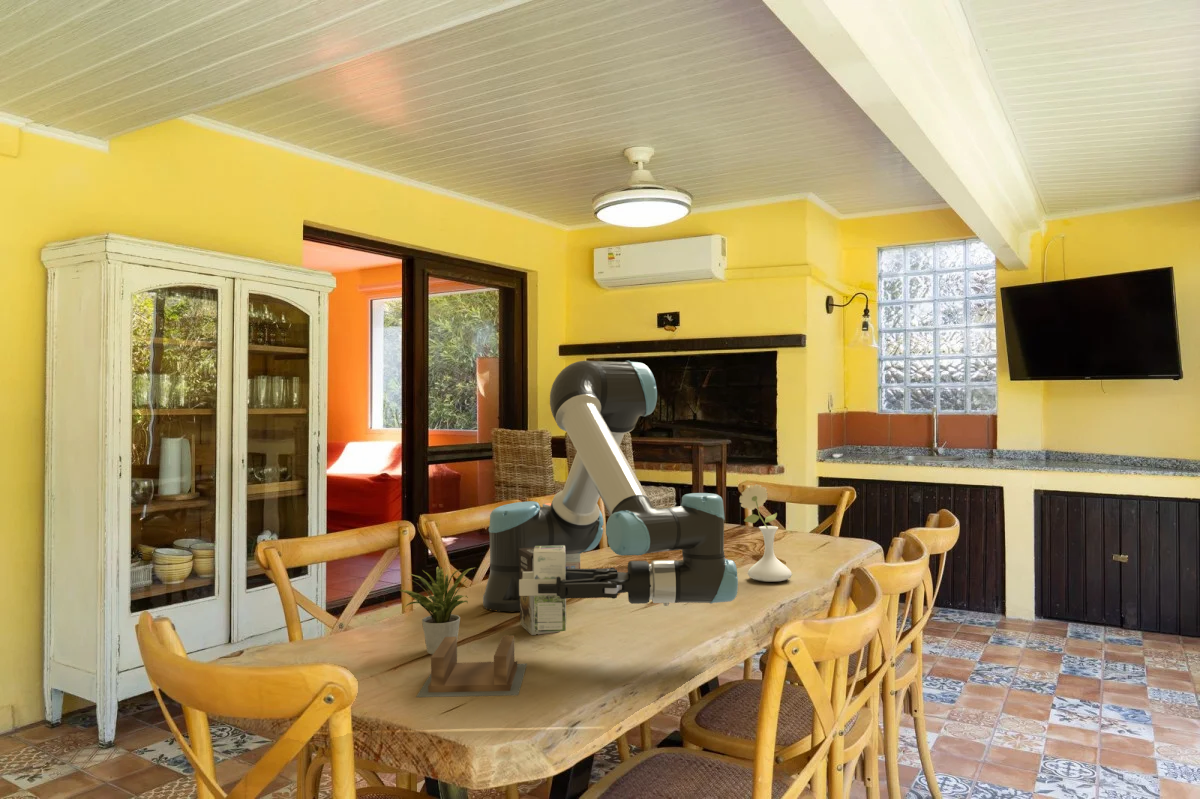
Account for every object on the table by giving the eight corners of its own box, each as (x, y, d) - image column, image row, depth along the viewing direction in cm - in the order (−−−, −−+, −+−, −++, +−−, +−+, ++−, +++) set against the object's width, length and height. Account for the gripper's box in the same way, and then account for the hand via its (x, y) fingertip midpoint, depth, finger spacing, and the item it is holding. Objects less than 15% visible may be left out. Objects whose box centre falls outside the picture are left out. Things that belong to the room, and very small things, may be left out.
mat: (527, 665, 143) (527, 663, 143) (518, 696, 127) (518, 694, 127) (436, 667, 143) (436, 665, 143) (416, 698, 127) (416, 696, 127)
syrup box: (566, 623, 149) (565, 544, 149) (566, 632, 143) (565, 549, 143) (535, 623, 149) (534, 544, 149) (533, 633, 143) (532, 550, 143)
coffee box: (518, 625, 171) (517, 548, 171) (548, 621, 173) (547, 545, 173) (530, 635, 162) (529, 554, 163) (561, 632, 165) (560, 552, 165)
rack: (517, 667, 141) (516, 635, 141) (510, 690, 129) (509, 656, 129) (442, 668, 141) (442, 636, 141) (428, 692, 129) (427, 657, 129)
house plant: (450, 635, 163) (448, 554, 164) (497, 647, 155) (496, 561, 155) (391, 652, 152) (389, 565, 153) (438, 666, 144) (437, 573, 144)
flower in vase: (789, 576, 216) (787, 482, 217) (795, 585, 205) (792, 485, 205) (739, 576, 217) (737, 482, 218) (742, 585, 206) (740, 486, 206)
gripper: (653, 616, 137) (516, 618, 136) (647, 590, 155) (525, 592, 155) (653, 571, 137) (515, 573, 136) (646, 551, 155) (525, 552, 155)
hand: (521, 583), depth 146 cm, fingers closed on syrup box, 6 cm apart
